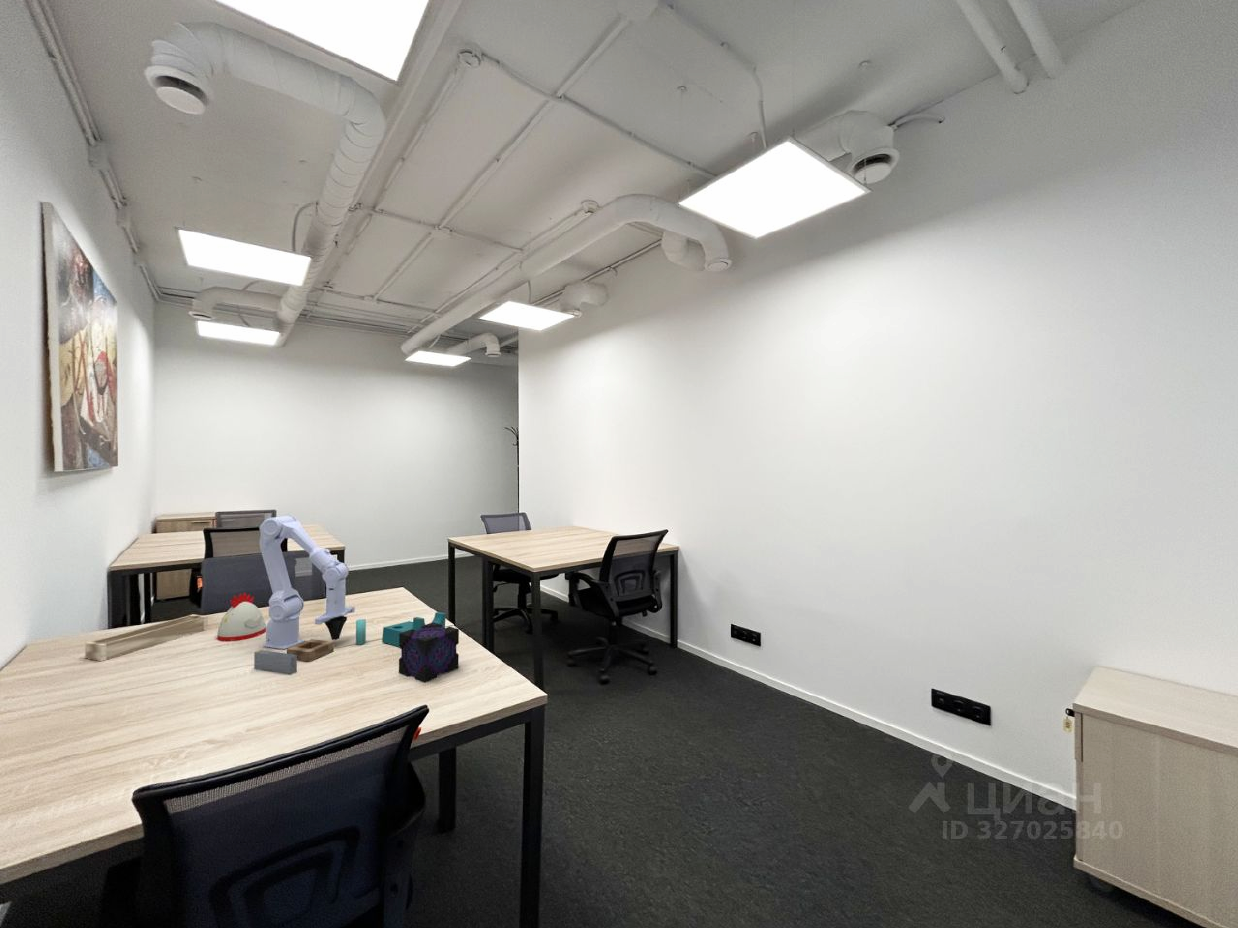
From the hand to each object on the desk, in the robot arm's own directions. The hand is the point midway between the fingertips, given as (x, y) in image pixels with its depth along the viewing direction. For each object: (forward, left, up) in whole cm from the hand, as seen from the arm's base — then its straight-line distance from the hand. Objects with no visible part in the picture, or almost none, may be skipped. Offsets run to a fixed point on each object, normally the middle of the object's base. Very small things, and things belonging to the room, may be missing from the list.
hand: (335, 638), depth 166 cm
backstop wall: (0, -22, -2) cm, 22 cm away
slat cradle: (-61, -17, -2) cm, 63 cm away
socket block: (0, -10, -2) cm, 10 cm away
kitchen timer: (-40, -2, -2) cm, 40 cm away
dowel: (+8, +3, -2) cm, 8 cm away
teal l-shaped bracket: (+24, +9, -2) cm, 26 cm away
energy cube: (+44, -9, -2) cm, 45 cm away
